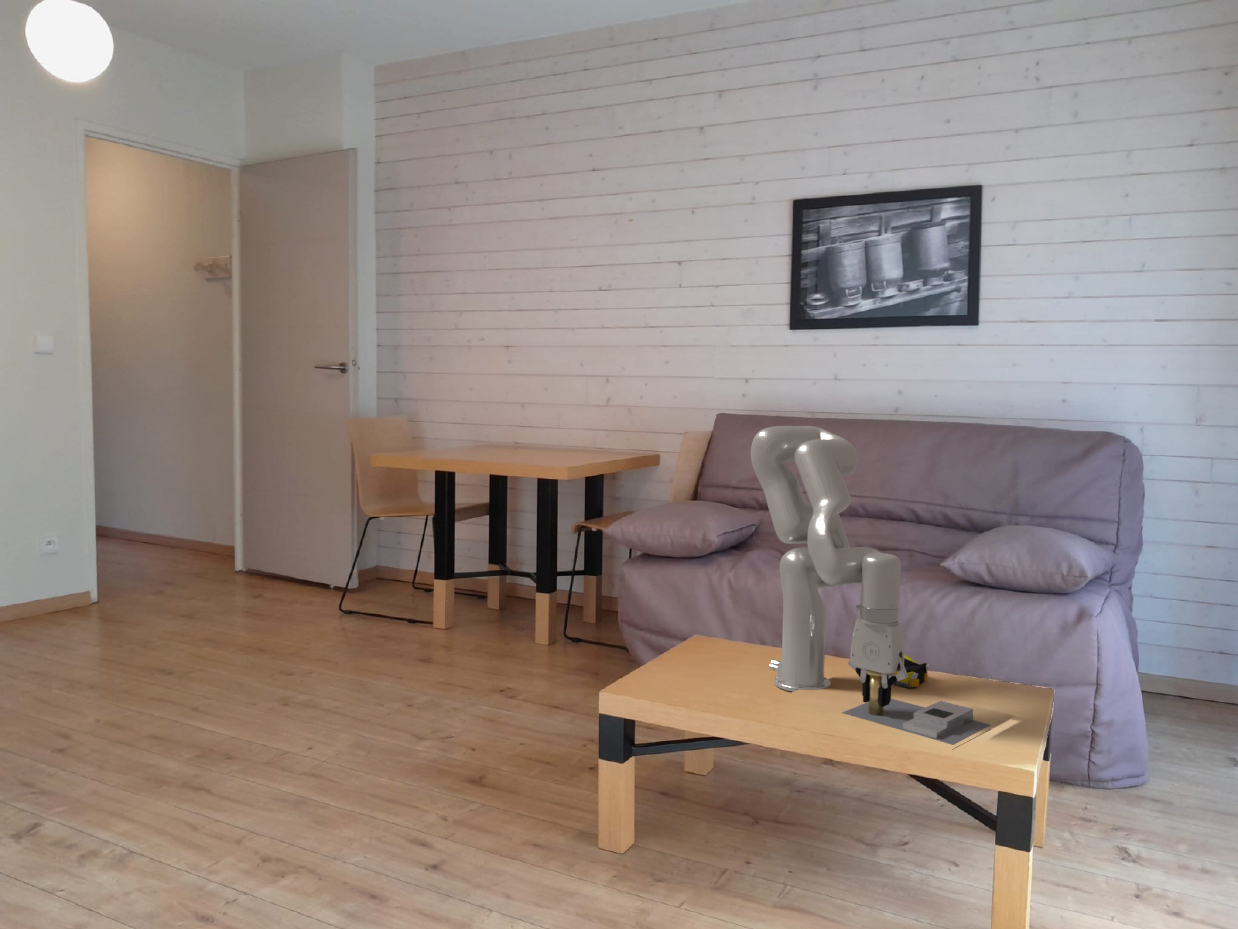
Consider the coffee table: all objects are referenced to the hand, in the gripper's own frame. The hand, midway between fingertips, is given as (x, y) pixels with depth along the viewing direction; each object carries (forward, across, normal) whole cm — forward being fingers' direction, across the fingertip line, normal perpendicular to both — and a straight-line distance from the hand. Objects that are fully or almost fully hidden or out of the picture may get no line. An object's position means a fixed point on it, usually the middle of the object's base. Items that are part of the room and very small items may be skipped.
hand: (876, 702), depth 194 cm
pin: (+2, 0, 0) cm, 2 cm away
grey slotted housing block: (+2, +12, +3) cm, 13 cm away
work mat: (+3, +7, +3) cm, 8 cm away
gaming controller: (+4, -9, +27) cm, 29 cm away
